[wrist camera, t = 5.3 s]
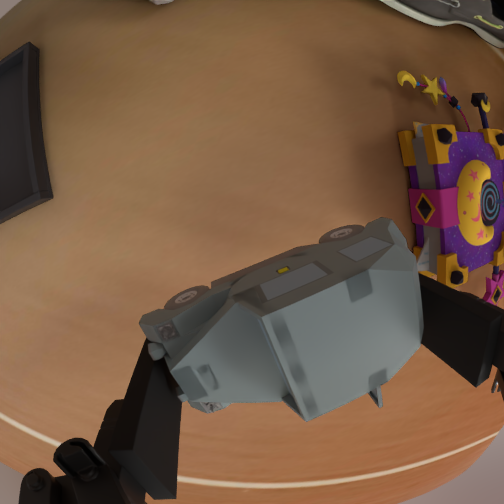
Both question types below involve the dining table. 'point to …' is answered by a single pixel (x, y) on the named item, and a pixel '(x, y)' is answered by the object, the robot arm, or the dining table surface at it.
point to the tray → (21, 135)
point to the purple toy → (456, 194)
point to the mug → (161, 1)
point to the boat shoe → (458, 15)
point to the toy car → (297, 325)
